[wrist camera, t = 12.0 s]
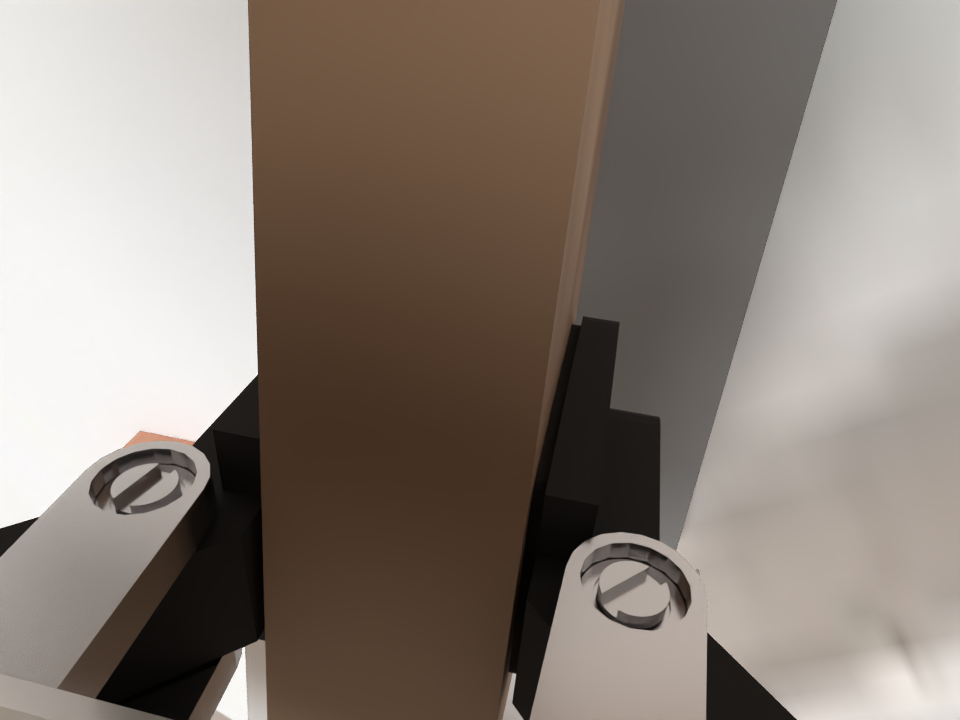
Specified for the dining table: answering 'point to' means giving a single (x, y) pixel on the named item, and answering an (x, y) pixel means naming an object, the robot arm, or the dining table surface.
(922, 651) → the dining table surface
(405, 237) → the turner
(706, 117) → the tool board
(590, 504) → the robot arm
